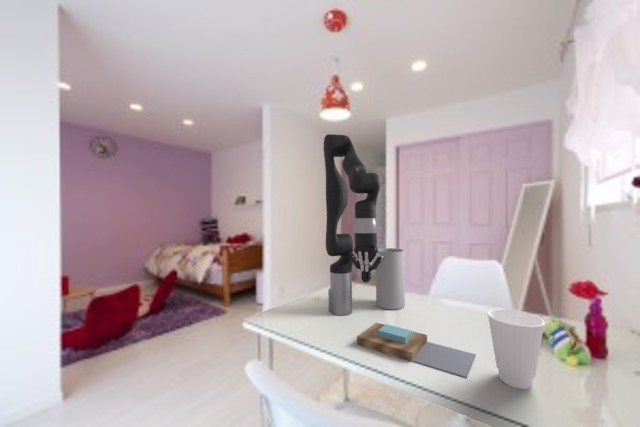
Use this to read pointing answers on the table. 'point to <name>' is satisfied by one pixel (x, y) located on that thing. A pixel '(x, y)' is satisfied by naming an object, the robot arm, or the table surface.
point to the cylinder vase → (390, 279)
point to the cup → (516, 345)
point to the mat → (445, 359)
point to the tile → (395, 333)
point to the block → (392, 343)
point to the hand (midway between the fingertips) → (366, 281)
